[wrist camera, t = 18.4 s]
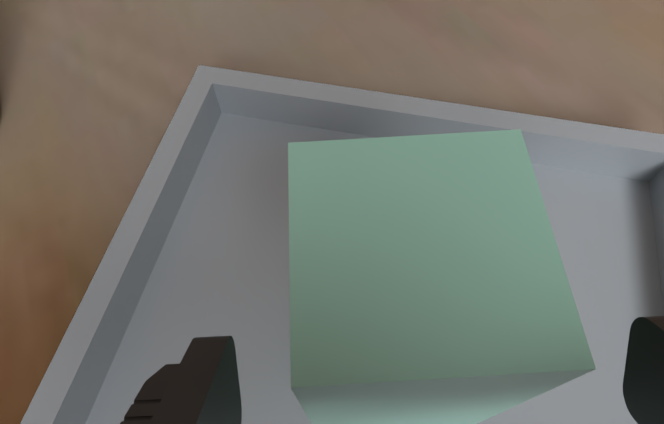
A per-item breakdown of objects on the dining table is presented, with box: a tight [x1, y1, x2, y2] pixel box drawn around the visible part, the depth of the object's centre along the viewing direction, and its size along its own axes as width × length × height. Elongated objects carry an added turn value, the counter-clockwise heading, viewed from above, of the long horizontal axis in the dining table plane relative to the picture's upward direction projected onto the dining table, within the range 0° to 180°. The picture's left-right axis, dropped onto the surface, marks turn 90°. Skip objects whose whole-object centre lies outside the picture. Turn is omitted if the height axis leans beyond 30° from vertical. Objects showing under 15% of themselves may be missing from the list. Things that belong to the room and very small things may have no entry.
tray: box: [20, 65, 664, 424], centre depth 17 cm, size 22×22×3 cm
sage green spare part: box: [288, 129, 596, 424], centre depth 13 cm, size 5×5×10 cm
